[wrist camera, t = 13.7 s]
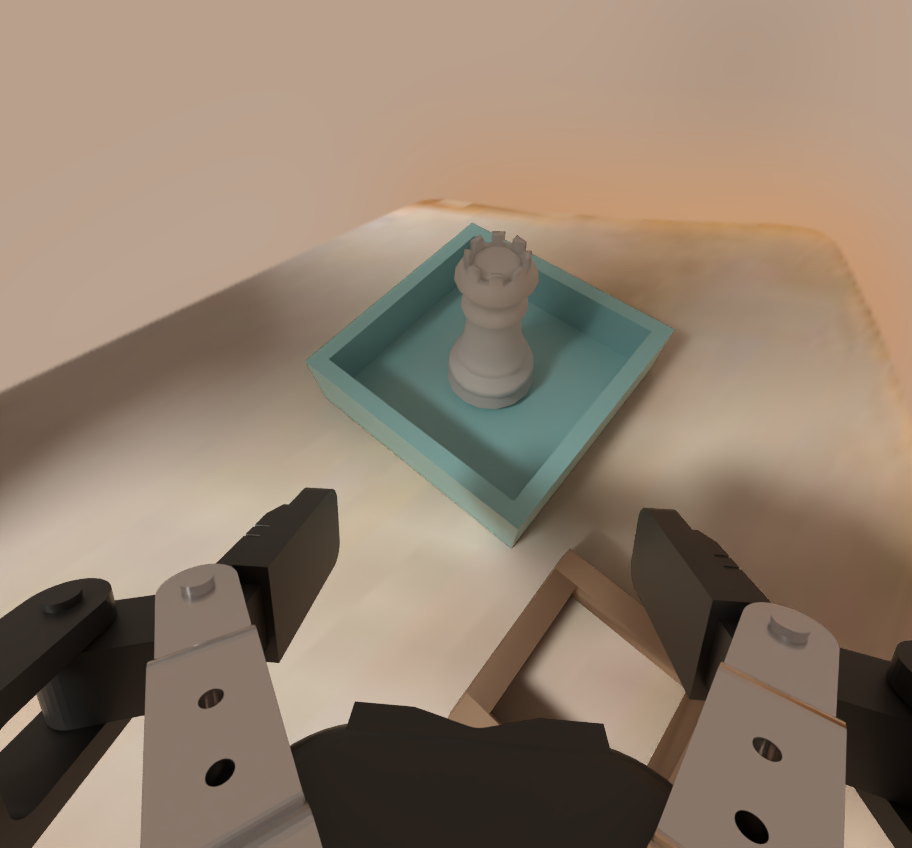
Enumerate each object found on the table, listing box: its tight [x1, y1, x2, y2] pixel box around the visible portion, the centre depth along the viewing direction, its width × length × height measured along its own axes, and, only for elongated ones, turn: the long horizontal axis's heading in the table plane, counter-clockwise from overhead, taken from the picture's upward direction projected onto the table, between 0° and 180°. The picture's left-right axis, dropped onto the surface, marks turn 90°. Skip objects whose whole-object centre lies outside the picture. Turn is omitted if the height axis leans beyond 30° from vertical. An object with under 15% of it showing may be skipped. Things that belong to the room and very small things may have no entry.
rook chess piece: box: [448, 231, 538, 409], centre depth 20 cm, size 4×4×8 cm
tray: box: [305, 223, 675, 548], centre depth 22 cm, size 13×13×3 cm
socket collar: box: [448, 549, 705, 785], centre depth 16 cm, size 8×8×2 cm
